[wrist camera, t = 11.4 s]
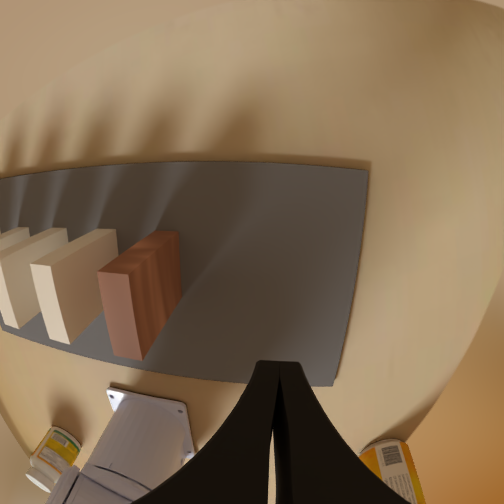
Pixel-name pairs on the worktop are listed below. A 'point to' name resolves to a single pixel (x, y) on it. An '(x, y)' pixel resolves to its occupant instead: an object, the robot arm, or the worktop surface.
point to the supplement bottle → (52, 458)
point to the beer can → (394, 468)
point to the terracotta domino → (141, 292)
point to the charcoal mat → (216, 257)
